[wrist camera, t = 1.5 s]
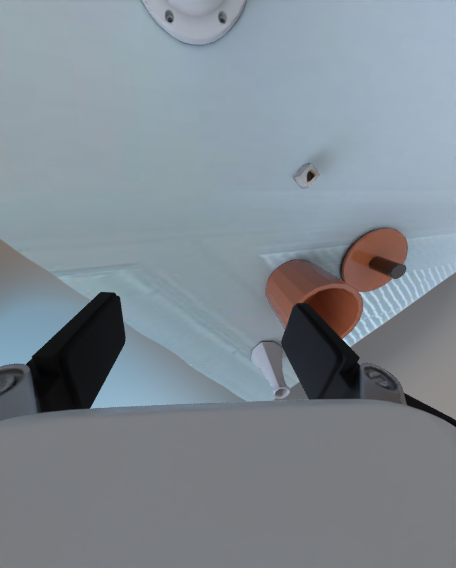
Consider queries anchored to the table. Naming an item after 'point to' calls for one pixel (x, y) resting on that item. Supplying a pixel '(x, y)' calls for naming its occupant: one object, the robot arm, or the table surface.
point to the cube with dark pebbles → (306, 175)
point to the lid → (375, 260)
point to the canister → (314, 295)
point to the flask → (271, 366)
